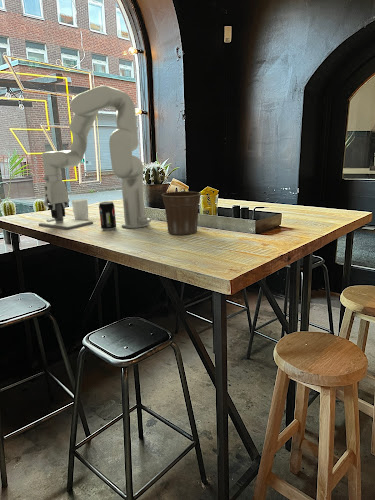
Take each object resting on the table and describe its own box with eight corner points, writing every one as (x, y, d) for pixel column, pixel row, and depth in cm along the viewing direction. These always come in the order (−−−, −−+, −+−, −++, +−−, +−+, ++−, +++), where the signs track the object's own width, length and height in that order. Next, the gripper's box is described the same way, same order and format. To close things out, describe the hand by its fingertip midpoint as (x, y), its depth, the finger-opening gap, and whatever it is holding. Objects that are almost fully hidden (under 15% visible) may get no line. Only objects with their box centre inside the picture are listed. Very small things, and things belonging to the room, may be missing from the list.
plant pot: (206, 228, 160) (205, 190, 156) (197, 237, 145) (195, 196, 141) (170, 227, 165) (168, 191, 160) (158, 236, 150) (155, 196, 145)
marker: (65, 221, 180) (62, 196, 177) (58, 223, 177) (54, 197, 174) (60, 221, 183) (57, 196, 179) (53, 222, 179) (49, 197, 176)
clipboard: (92, 223, 180) (92, 219, 180) (67, 229, 169) (66, 225, 168) (64, 220, 193) (64, 216, 192) (38, 225, 181) (38, 221, 180)
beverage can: (113, 230, 163) (110, 203, 159) (98, 230, 164) (96, 203, 161) (118, 227, 169) (116, 201, 166) (105, 227, 170) (102, 201, 167)
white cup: (85, 220, 189) (83, 201, 186) (71, 220, 190) (68, 201, 187) (91, 217, 196) (89, 198, 193) (77, 217, 197) (75, 199, 195)
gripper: (42, 180, 165) (48, 221, 170) (73, 177, 178) (77, 214, 183) (33, 180, 170) (38, 219, 175) (63, 177, 183) (68, 213, 188)
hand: (58, 216), depth 179 cm, fingers closed on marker, 4 cm apart
